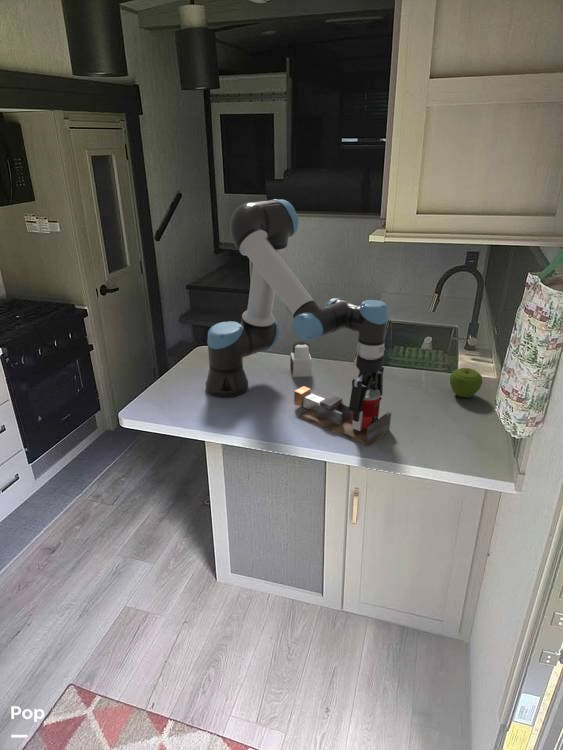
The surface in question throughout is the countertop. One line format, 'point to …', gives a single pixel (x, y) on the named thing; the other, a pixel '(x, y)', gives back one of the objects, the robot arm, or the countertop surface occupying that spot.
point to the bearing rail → (345, 421)
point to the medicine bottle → (301, 360)
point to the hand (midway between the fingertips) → (364, 423)
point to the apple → (465, 382)
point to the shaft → (308, 399)
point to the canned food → (370, 408)
